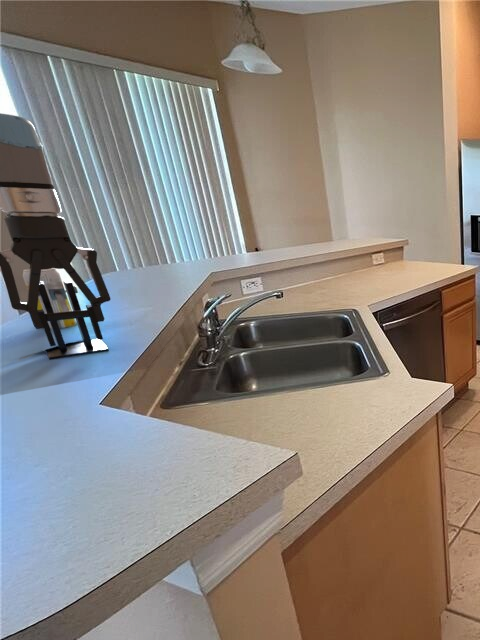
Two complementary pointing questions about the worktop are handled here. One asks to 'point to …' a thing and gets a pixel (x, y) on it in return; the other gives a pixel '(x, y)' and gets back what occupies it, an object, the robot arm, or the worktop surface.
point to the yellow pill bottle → (49, 277)
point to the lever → (62, 304)
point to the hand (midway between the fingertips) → (76, 341)
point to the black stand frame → (87, 344)
